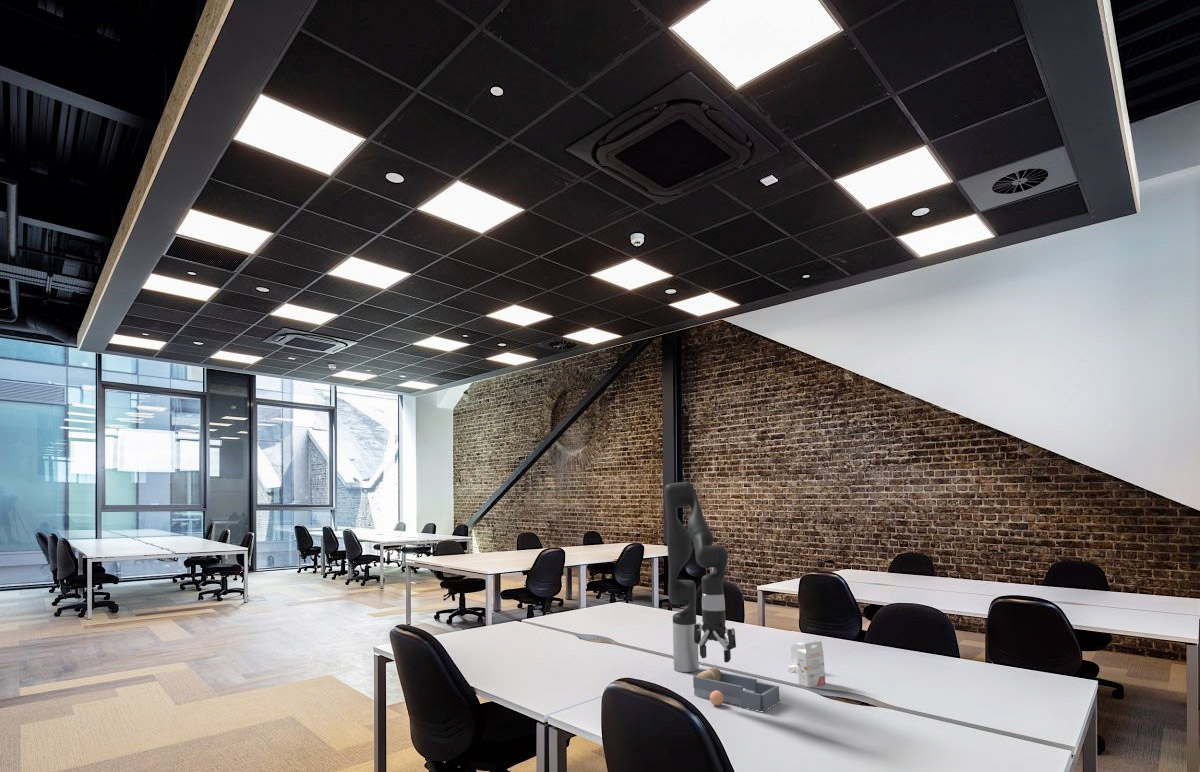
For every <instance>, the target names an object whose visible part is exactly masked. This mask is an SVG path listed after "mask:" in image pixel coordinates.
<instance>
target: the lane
mask: <svg viewBox="0 0 1200 772" xmlns="http://www.w3.org/2000/svg"><path fill="white" fill-rule="evenodd" d="M721 674H722V679H721V681H716V680H711V679H706V678H702V677H697V675H694V676H692V680H693V682H692V683H693V687H692V688H693V692H694V696H695V695H696V696H697V697H699V696H700V698H704V699H709V700H710V695H711V693H712V692H713V691H720V692H721V693H722V694H723V697H724V702H723V703H725V702H729V703H733V704H737V705H741V706H740V708H741V707H745V708H749V709H754V710H758V711H765V710H767V709H768V708H770V707H772V706H773V705H775V704H777V703H778V702H780V703H781V700H780V686H779V685H774V684H769V683H765V682H759V681H758V680H757V678H753V677H748V676H743V675H737V674H733V673H727V672H723V671H721ZM729 703H728V704H729ZM733 704H732V705H733ZM778 704H779V703H778ZM778 704H777V705H778ZM737 705H736V706H737ZM775 706H776V705H775ZM773 707H774V706H773ZM773 707H772V708H773ZM745 708H744V709H745ZM749 709H748V710H749ZM770 709H771V708H770ZM758 711H757V712H758ZM767 711H768V710H767ZM765 712H766V711H765Z"/></svg>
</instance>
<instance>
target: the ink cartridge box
mask: <svg viewBox="0 0 1200 772" xmlns="http://www.w3.org/2000/svg"><path fill="white" fill-rule="evenodd" d="M804 644H805V647H806V649H800V650H796V651H797V666H798V674H797V678H798V685H799V686H802V687H806V688H808V689H810V688H814V687H818V686H823V685H826V673H825V657H824V650H823V649H824V648H823V642H822V640H819V641H813V642H807V643H804ZM812 646H813V647H812ZM814 646H815V647H814Z"/></svg>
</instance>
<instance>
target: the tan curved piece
mask: <svg viewBox="0 0 1200 772" xmlns="http://www.w3.org/2000/svg"><path fill="white" fill-rule="evenodd" d="M721 672H722V671H721V670H720V669H719V668H718V667H717V666H716V667H715V666H714V667H711V668H708V669H706V670H704V671H702V672H699V673H698V674H697V675H696V676H697V677H702V678H706V679H711V680H716V681H721V679H722V674H721Z"/></svg>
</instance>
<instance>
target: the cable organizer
mask: <svg viewBox="0 0 1200 772" xmlns="http://www.w3.org/2000/svg"><path fill="white" fill-rule="evenodd" d="M805 644H806V643H804V642H797V643H794V644H792V645H791V648H790V650H791V652H790V653H791V665H788V666H787V672H788V673H795V674H796V675H798V666H797V651H796V650H800V649H806V647H805Z"/></svg>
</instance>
